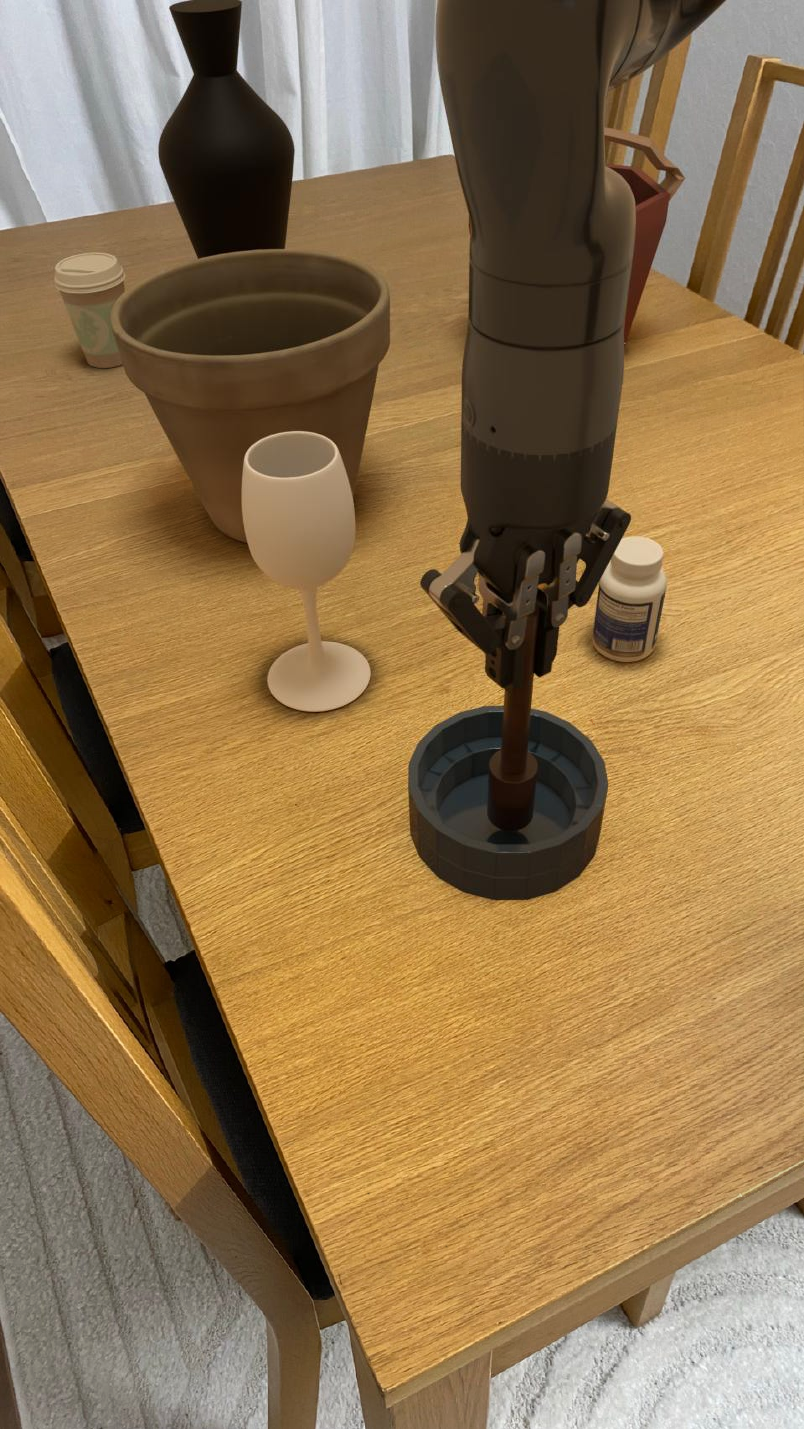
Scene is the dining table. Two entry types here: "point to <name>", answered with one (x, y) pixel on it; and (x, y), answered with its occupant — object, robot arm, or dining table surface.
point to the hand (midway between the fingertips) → (520, 674)
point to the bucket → (644, 210)
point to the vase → (224, 142)
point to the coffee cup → (92, 302)
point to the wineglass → (304, 557)
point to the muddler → (515, 750)
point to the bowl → (456, 806)
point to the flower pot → (254, 359)
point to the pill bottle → (630, 601)
